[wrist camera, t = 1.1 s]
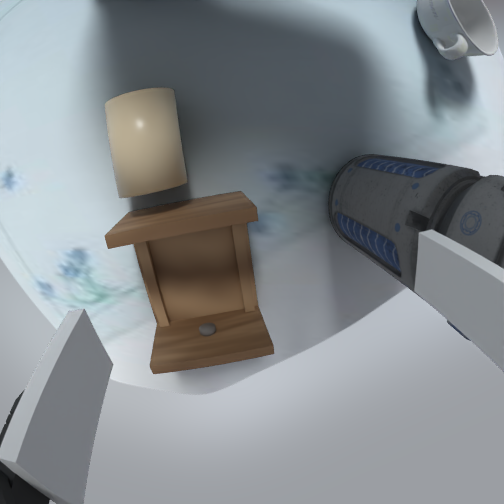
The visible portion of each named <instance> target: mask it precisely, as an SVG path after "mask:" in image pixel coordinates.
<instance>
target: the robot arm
mask: <svg viewBox="0 0 504 504" xmlns="http://www.w3.org/2000/svg"><path fill="white" fill-rule="evenodd" d="M414 292H416V293H417V294H418V295H419V296H420V297H422V298H423V299H424V300H425V301H426V302H427V303H429V304H430V305H431V306H432V307H433V308H435V309H436V310H437V311H438V312H439V313H440V314H442V315H443V316H444V317H445V318H446V319H447V320H448V321H449V322H451V323H452V324H453V325H454V326H455V327H456V328H457V329H458V330H460V331H461V332H462V333H463V334H464V335H465V336H466V337H467V338H468V339H469V340H471V341H472V342H473V343H474V344H475V345H476V346H477V347H478V348H479V349H480V350H481V351H482V352H483V353H484V354H486V355H487V356H488V357H489V358H490V359H491V360H492V361H493V362H494V363H495V364H496V365H497V366H498V367H499V368H500V369H501V370H502V371H503V372H504V269H503V268H501V267H500V266H498V265H496V264H495V263H493V262H491V261H489V260H488V259H486V258H484V257H482V256H481V255H479V254H477V253H475V252H474V251H472V250H470V249H468V248H466V247H465V246H463V245H461V244H459V243H457V242H455V241H453V240H451V239H450V238H448V237H446V236H444V235H442V234H440V233H438V232H436V231H434V230H432V229H431V230H428V231H424V232H420V233H419V240H418V256H417V268H416V278H415V288H414ZM112 367H113V363H112V361H111V359H110V358H109V356H108V354H107V352H106V350H105V349H104V347H103V345H102V343H101V341H100V339H99V337H98V335H97V333H96V331H95V329H94V327H93V325H92V323H91V321H90V319H89V317H88V315H87V313H86V311H85V309H79V310H74V311H68V313H67V315H66V316H65V318H64V319H63V321H62V323H61V324H60V326H59V328H58V329H57V331H56V333H55V335H54V336H53V338H52V340H51V341H50V343H49V345H48V347H47V349H46V350H45V352H44V354H43V356H42V358H41V359H40V361H39V363H38V365H37V367H36V369H35V371H34V373H33V375H32V377H31V378H30V380H29V382H28V384H27V386H26V389H25V390H24V391H23V392H22V393H21V394H20V395H19V397H18V398H17V399H16V400H15V402H14V405H13V407H12V409H11V411H10V413H11V414H9V416H8V418H7V420H6V424H5V425H4V427H3V430H2V432H1V434H0V504H49V500H52V501H53V502H55V503H56V504H84V496H85V489H86V483H87V476H88V470H89V465H90V459H91V454H92V448H93V444H94V439H95V434H96V430H97V425H98V421H99V416H100V412H101V408H102V404H103V400H104V396H105V392H106V389H107V385H108V381H109V377H110V374H111V370H112Z"/></svg>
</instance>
